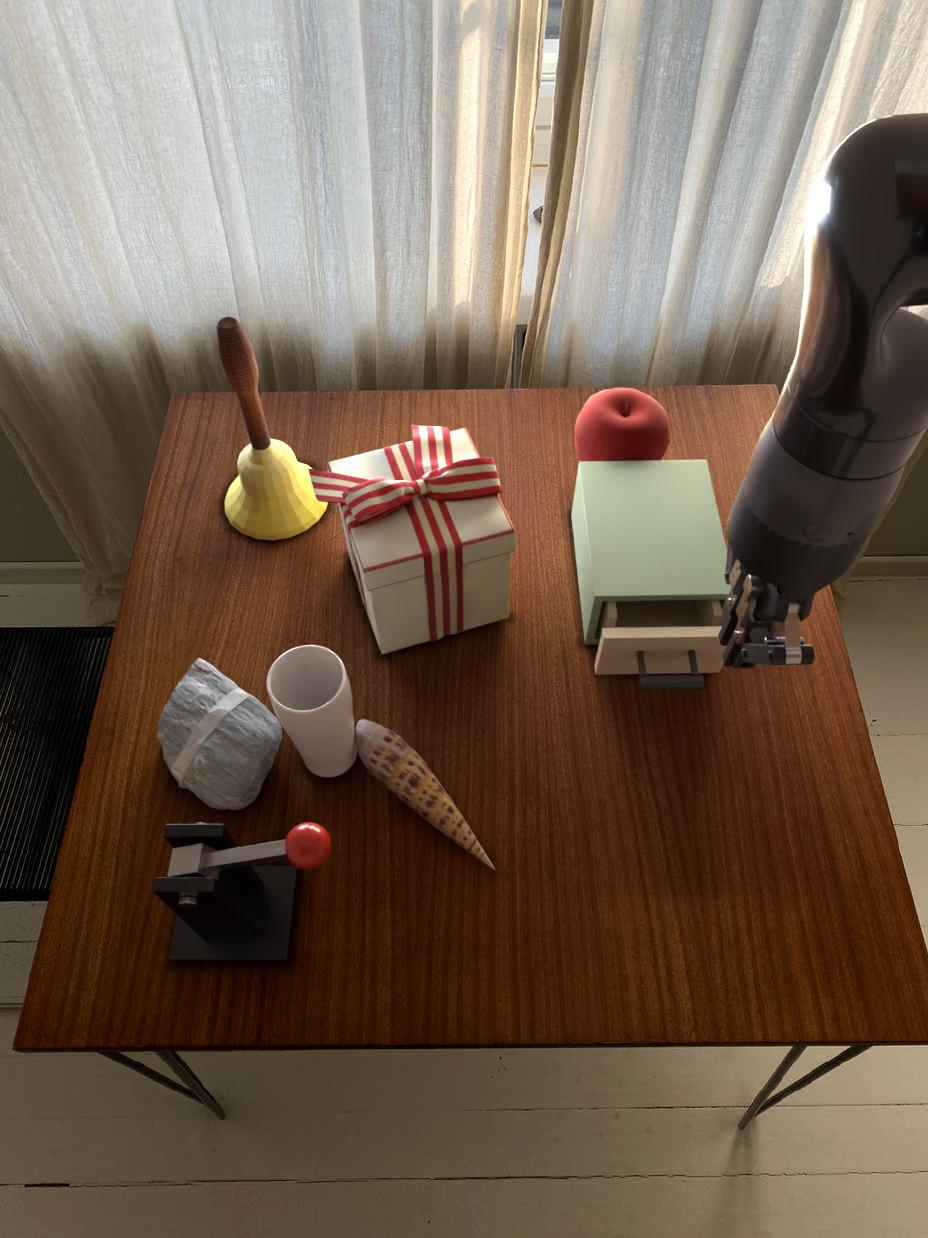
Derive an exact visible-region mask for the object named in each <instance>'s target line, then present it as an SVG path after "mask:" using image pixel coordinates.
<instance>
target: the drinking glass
mask: <svg viewBox="0 0 928 1238" xmlns="http://www.w3.org/2000/svg"><path fill="white" fill-rule="evenodd" d="M266 690H267V694H268V697H269V700H270V703H271V706H272V709H273V711H274V715H276V716H275V717H276V718H277V719H278V721H279V723H280V724H281V727H282V729H283V730H284V731H285V733H286V735H287V736H288V737H289V739H290V740H291V742H292V744H293V745H294V747H295V749H296V750H297V752H298V753H299V755H300V757H301V759H302V761H303V764H304V766H305V767H306V768H307V769H308V771H310V773H312V774H314V775H315V776H318V777H321V778H334V777H338V776H340V775H343V774H344V773H346V772H347V771H349V770H350V769H351V767H353V765H354V763H355V761H356V759H357V756H358V750H357V746H356V726H355V715H354V714H355V713H354V699H353V692H352V687H351V683H350V679H349V676H348V673H347V670H346V667H345V665H344V662H343V661H342V659H341V658H340V657H339V656H338V655H337V653H335V652H334V651H333V650H331V649H329V648H328V647H325V646H322V645H317V644H316V645H315V644H305V645H304V644H303V645H299V646H296V647H293V648H291V649H289V650H286V651H285V652H283V653H282V654H281V655H280V656H278V657H277V659H276V660H274V662H273V663H272V665H271V666H270V668H269V670H268V673H267V677H266Z"/></svg>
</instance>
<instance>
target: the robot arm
mask: <svg viewBox="0 0 928 1238" xmlns="http://www.w3.org/2000/svg"><path fill="white" fill-rule="evenodd" d="M804 231H805V232H804V279H803V281H804V282H803V296H802V297H803V298H802V305H801V314H800V315H801V316H800V323H799V324H800V325H799V333H798V334H799V335H798V340H797V346H796V352H795V356H794V359H793V361H792V364H791V366H790V369H789V372H788V374H787V377H786V380H785V382H784V385H783V387H782V389H781V393H780V396H779V398H778V401H777V403H776V406H775V408H774V410H773V412H772V415H771V416H770V418H769V420H768V421H767V423H766V425H765V426H764V428H763V430H762V431H761V434H760V435H759V438H758V440H757V442H756V445H755V446H754V449H753V452H752V454H751V457H750V460H749V463H748V465H747V469H746V470H745V473H744V476H743V477H742V478H743V479H742V481H741V483H740V485H739V489H738V491H737V495H736V497H735V500H734V501H733V503H732V506H731V510H730V512H729V515H728V518H727V522H726V537H727V561H726V570H725V574H724V578H725V581H726V584H727V585H731V590H730V592H729V595H728V599H727V606H728V609H729V612H728V614H727V616H726V618H725V621H724V623H723V625H722V628H721V630H720V632H719V634H718V636H719V641H720V644H721V645H723V646H727V647H726V649H725V652H724V654H723V661H724V664H723V666H725V667H727V668H731V669H732V670H737V669H739V670H740V669H742V670H743V669H745V670H747V669H754V668H755V666H756V665H757V664H758V665H766V666H811V665H813V664H814V662H815V655H816V654H815V649H814V646H813V645H812V644H805V643H806V639H805V637H804V636H801V622H804V621H805V620H806V619H807V618H809V616H810V614H811V611H812V609H813V608H812V607H813V603H814V599H815V595H816V594H817V593H818V592H819V591H821V590H822V589H824V588H826V587H828V586H829V585H831V584H832V583H834V582H836V581H837V580H839V579H840V578H841V577H842V576H844V575H845V574H846V573H847V572H848V571H849V569H850V568H851V566H852V565H853V563H854V561H855V559H857V557H858V555H859V553H860V552H861V549H862V548H863V546H864V544H865V543H866V542H867V539H868V538H869V536H870V535H871V533H872V531H873V530H874V528H875V527H876V525H877V524H878V521H879V520H880V518H881V516H882V515H883V513H884V511H885V510H886V508H887V506H888V504H889V503H890V502H891V499H892V498H893V496H894V494H895V492H896V490H897V489H898V486H899V484H900V481H901V479H902V476H903V474H904V471H905V468H906V465H907V463H908V461H909V459H910V458H911V456H912V454H913V452H915V449H916V447H917V446H918V444H919V442H920V441H921V439H922V437H923V436H924V434H925V433H926V431H927V429H928V319H926V318H924V317H922V316H921V315H919V314H917V313H915V312H912V311H910V310H907V309H903V308H909V307H919V306H921V307H922V306H928V112H917V113H916V112H915V113H902V114H901V113H900V114H891V115H887V116H883V117H879V118H875V119H872V120H871V121H868V122H866V123H865V124H862V125H860V126H859V127H858V128H856V129H855V130H854V131H853V132H851V133H850V134H849V135H848V136H847V137H845V139H843V141H841V143H839V144H838V145H837V147H836V148H835V149H834V150H833V152H832V153H831V154H830V155H829V156H828V158H827V160H826V161H825V162H824V164H823V166H822V168H821V169H820V171H819V172H818V174H817V177H816V179H815V181H814V183H813V185H812V189H811V191H810V194H809V198H808V203H807V209H806V218H805V230H804Z"/></svg>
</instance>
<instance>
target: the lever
mask: <svg viewBox="0 0 928 1238" xmlns="http://www.w3.org/2000/svg"><path fill="white" fill-rule="evenodd" d="M331 848H332V841H331V836H330V835H329V833H328V831H327V830H326V829H325V828H324V827H323V826H322V825H321V824H318V823H316V822H312V821H307V822H302V823H298V824H297V825H295V826H294V827H293V828H291V830H290V831H289V832H288V834H287V836H286V837H285V839H280V840H275V841H269V842H262V843H257V844H252V845H245V846H239V848H233V849H227V850H221V851H218V850H216V849H214V848H212V847H209V846H207V845H205V844H203V843H199V844H194V845H188V846H183V847H177V848H172V850H171V855H170V860H169V865H168V871H167V877H166V878H216V879H217V880H218V877H219V871H220V870H223V869H229V868H236V867H242V866H248V865H252V866H255V865H259V864H260V865H261V864H266V863H272V862H277V861H284V860H288V861H289V862H290V864H292V866H296V867H298V869H301V870H312V869H315V868H318V867H319V866H321V865H322V864H323V863H324V862H325V861H326V860H327V859H328V857H329V856H330V853H331Z"/></svg>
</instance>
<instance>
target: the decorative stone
mask: <svg viewBox="0 0 928 1238" xmlns="http://www.w3.org/2000/svg"><path fill="white" fill-rule="evenodd" d="M173 689H174V690H173V691H172V693H171V695H170V697H169V699H168V701H167V702H166V704H165V705H164V707H163V709H162V711H161V714H160V716H159V720H158V726H157V727H158V729H157V735H156V737H157V741H158V743H159V744H160V746H161V748H162V757H163V760H164V762H165V763H166V766H167V767H168V770H169V772H170V774H171V776H173V777H174V779H175V781H176V782H177V783H178V785H177V786H178V787H179V788H181V789H187V790H189V791H190V792H191V793H193V794H194V795H195V796H196V797H197V798H198V799H199V800H200V801H201V802H203V803H204V804H206V805H207V806H208V807H210V808H213V809H216V810H230V811H238V810H243V809H245V808H247V807H248V806H249V805H250V804H251V803H253V802H254V801H255V800H256V799H257V798H258V796H259V794H260V792H261V789H262V787H263V784H264V783H263V782H264V781H265V779H266V777H267V775H268V774H269V772H270V771H271V769H272V767H273V766H274V759H275V758H276V755H277V754H278V752H279V750H280V744H281V743H282V739H283V737H284V735H283V726H282V725H281V723H280V721H279V720H278V718H277V716H275V714H273V712H271V711H270V710H269V708H268V707H267V706H266V705H265V704H264V703H262V702H261V701H260V700H259V699H258V698H256V697H255V696H254V695H253V694H250V693H248V692H246V691H245V690H244V689H242V688H241V687H239V686H238V685H237V684H236V683H235V681H233V680H232V679H230V678H229V677H227V676H226V675H224V674H223V673H221V671H219V670H218V669H217V668H216V667H215V666H214V665H213V664H211V663H209V662H208V661H206V660H204V659H202V658H200V657H198V658H196V659H195V660H194V661H193V663H192V664H191V665H190V666H189V668H188V669H187V671H186V673H185V674H184V675H183V676H182V678H181V679H180V680H179V682H178V683H177V684H176V686H175V687H174V688H173Z"/></svg>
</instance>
